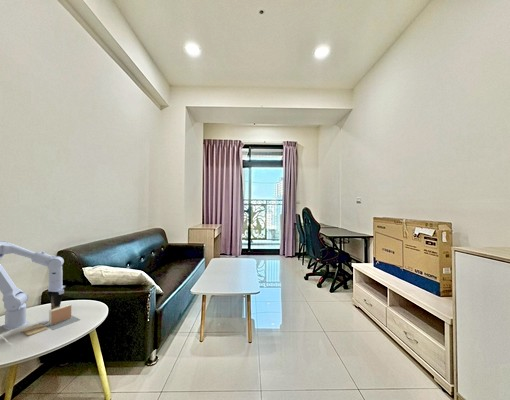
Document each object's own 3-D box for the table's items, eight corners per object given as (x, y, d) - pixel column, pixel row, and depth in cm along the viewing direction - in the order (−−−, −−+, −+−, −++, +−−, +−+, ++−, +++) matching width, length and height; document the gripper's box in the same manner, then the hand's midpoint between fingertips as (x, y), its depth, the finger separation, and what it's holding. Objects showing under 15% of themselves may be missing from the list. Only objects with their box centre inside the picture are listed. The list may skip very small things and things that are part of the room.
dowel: (49, 309, 128) (49, 296, 128) (57, 306, 131) (57, 294, 131) (53, 310, 126) (53, 297, 126) (61, 308, 130) (61, 295, 130)
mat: (42, 324, 123) (42, 324, 123) (70, 315, 133) (70, 314, 133) (53, 331, 117) (53, 330, 117) (80, 320, 127) (80, 319, 127)
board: (21, 331, 116) (21, 329, 116) (39, 325, 122) (39, 323, 122) (28, 337, 111) (28, 334, 111) (47, 330, 117) (47, 328, 117)
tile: (49, 324, 122) (49, 310, 123) (69, 316, 130) (69, 304, 130) (50, 325, 121) (51, 311, 121) (71, 317, 129) (71, 304, 129)
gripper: (70, 279, 129) (70, 305, 129) (58, 275, 136) (58, 299, 136) (54, 283, 123) (54, 310, 123) (42, 279, 130) (42, 304, 130)
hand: (55, 305), depth 129 cm, fingers closed on dowel, 4 cm apart
